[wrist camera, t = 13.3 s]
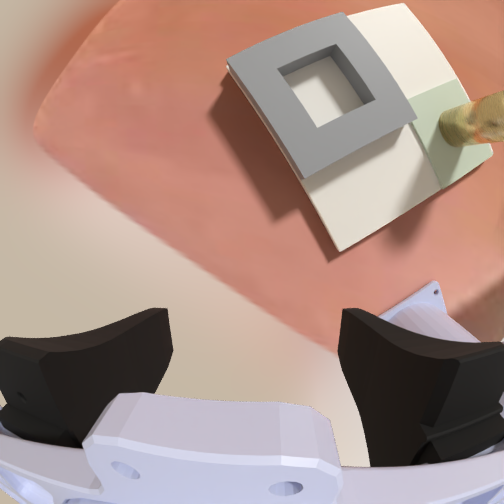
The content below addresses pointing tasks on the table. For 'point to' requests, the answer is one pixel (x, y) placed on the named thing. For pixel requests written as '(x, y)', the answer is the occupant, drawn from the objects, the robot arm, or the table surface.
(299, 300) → the table surface
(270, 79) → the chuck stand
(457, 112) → the brass cylinder
